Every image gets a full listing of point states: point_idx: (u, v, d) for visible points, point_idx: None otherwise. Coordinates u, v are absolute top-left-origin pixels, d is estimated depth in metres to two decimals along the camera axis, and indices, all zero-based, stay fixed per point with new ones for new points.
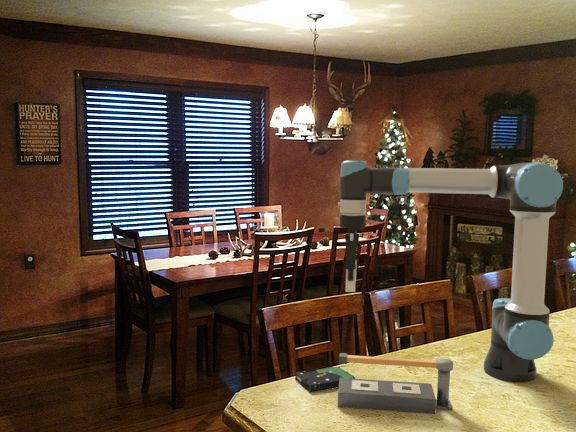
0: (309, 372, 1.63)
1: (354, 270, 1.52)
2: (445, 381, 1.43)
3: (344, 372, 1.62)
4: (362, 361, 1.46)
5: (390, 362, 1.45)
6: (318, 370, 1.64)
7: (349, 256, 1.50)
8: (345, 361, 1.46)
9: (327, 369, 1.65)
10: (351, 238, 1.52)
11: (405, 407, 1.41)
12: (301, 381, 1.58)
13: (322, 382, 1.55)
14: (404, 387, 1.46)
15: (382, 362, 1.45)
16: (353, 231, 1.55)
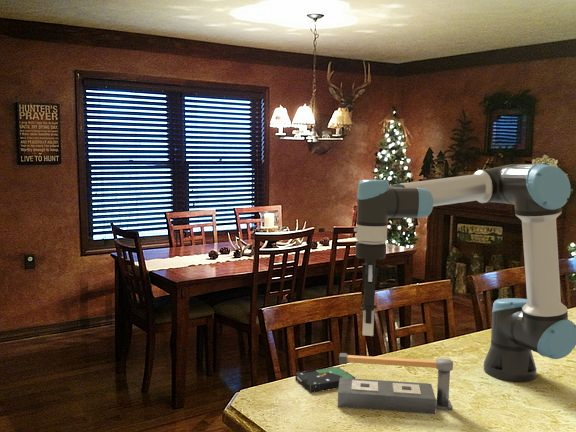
0: (309, 372, 1.62)
1: (372, 311, 1.36)
2: (445, 381, 1.43)
3: (344, 372, 1.62)
4: (362, 361, 1.46)
5: (390, 362, 1.45)
6: (318, 370, 1.64)
7: (367, 299, 1.33)
8: (345, 361, 1.46)
9: (327, 369, 1.64)
10: (369, 280, 1.31)
11: (405, 407, 1.41)
12: (301, 381, 1.57)
13: (322, 382, 1.54)
14: (404, 387, 1.46)
15: (382, 362, 1.45)
16: (372, 262, 1.32)
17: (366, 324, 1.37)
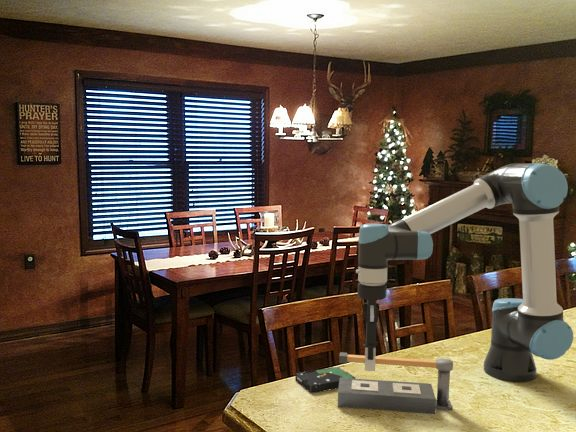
0: (309, 373, 1.62)
1: (374, 348, 1.44)
2: (445, 381, 1.43)
3: (344, 372, 1.62)
4: (362, 360, 1.46)
5: (390, 362, 1.45)
6: (318, 370, 1.63)
7: (369, 337, 1.40)
8: (345, 360, 1.47)
9: (327, 369, 1.64)
10: (371, 320, 1.38)
11: (405, 407, 1.41)
12: (302, 382, 1.57)
13: (323, 383, 1.54)
14: (404, 387, 1.46)
15: (382, 362, 1.46)
16: (373, 303, 1.40)
17: (368, 360, 1.45)
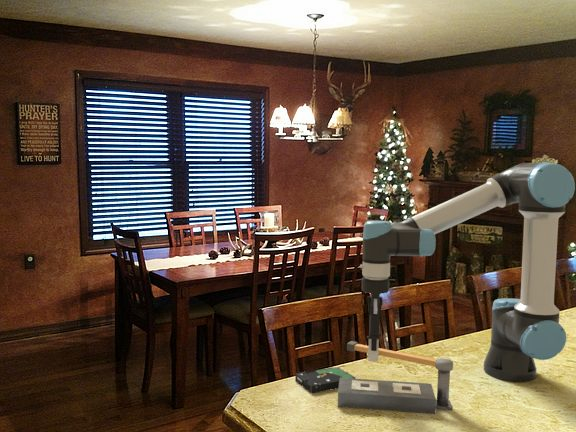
0: (309, 373, 1.62)
1: (377, 340, 1.51)
2: (445, 381, 1.43)
3: (344, 372, 1.62)
4: (367, 351, 1.54)
5: (392, 355, 1.50)
6: (318, 371, 1.63)
7: (373, 329, 1.47)
8: (352, 348, 1.56)
9: (327, 370, 1.64)
10: (375, 313, 1.45)
11: (405, 407, 1.41)
12: (302, 382, 1.57)
13: (323, 383, 1.54)
14: (404, 387, 1.46)
15: (385, 354, 1.51)
16: (377, 296, 1.47)
17: (372, 351, 1.51)
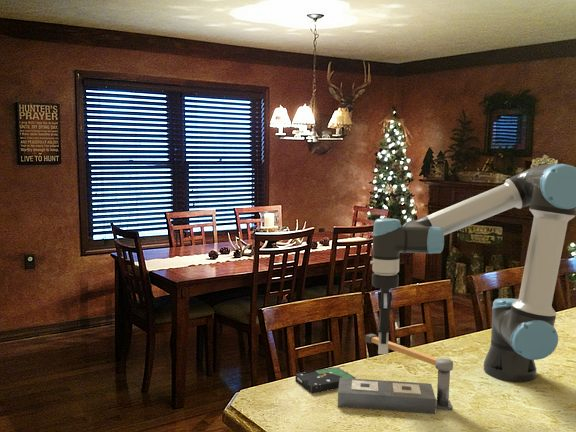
0: (309, 373, 1.62)
1: (387, 333, 1.56)
2: (445, 381, 1.43)
3: (344, 373, 1.62)
4: None
5: (400, 350, 1.54)
6: (318, 371, 1.63)
7: (383, 323, 1.53)
8: (369, 340, 1.63)
9: (327, 370, 1.64)
10: (385, 307, 1.51)
11: (405, 407, 1.41)
12: (302, 382, 1.57)
13: (323, 383, 1.54)
14: (404, 387, 1.46)
15: (395, 348, 1.56)
16: (386, 291, 1.52)
17: (381, 344, 1.57)
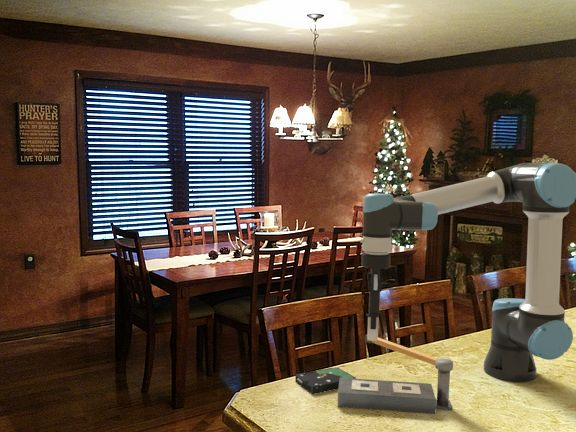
0: (309, 373, 1.62)
1: (377, 318, 1.44)
2: (445, 381, 1.43)
3: (344, 373, 1.62)
4: (381, 344, 1.60)
5: (400, 350, 1.54)
6: (318, 371, 1.63)
7: (372, 306, 1.41)
8: (369, 340, 1.63)
9: (327, 370, 1.64)
10: (375, 289, 1.39)
11: (405, 407, 1.41)
12: (302, 383, 1.56)
13: (324, 383, 1.54)
14: (404, 387, 1.46)
15: (395, 348, 1.56)
16: (377, 272, 1.40)
17: (371, 330, 1.45)
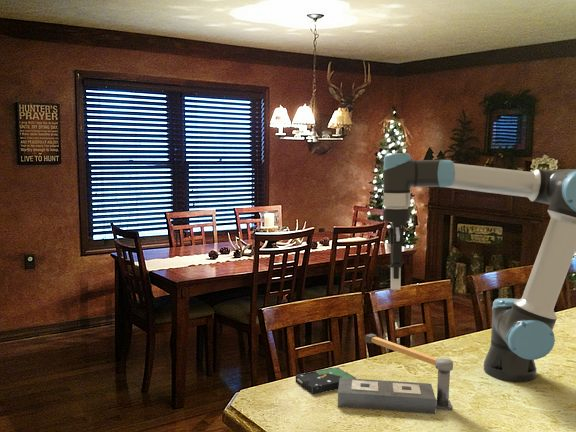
0: (309, 374, 1.61)
1: (399, 268, 1.57)
2: (445, 381, 1.43)
3: (344, 373, 1.62)
4: (381, 344, 1.60)
5: (400, 350, 1.54)
6: (318, 371, 1.63)
7: (395, 256, 1.53)
8: (369, 340, 1.63)
9: (327, 370, 1.64)
10: (397, 240, 1.51)
11: (405, 407, 1.41)
12: (302, 383, 1.56)
13: (324, 384, 1.54)
14: (404, 387, 1.46)
15: (395, 348, 1.56)
16: (398, 225, 1.52)
17: (394, 279, 1.57)
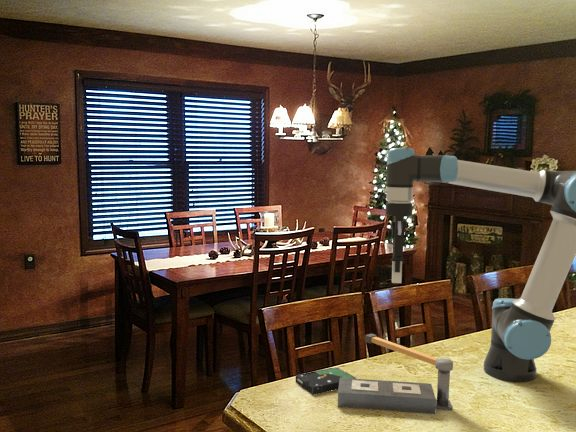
0: (309, 374, 1.61)
1: (400, 262, 1.58)
2: (445, 381, 1.43)
3: (344, 373, 1.62)
4: (381, 344, 1.60)
5: (400, 350, 1.54)
6: (318, 372, 1.62)
7: (397, 250, 1.54)
8: (369, 340, 1.63)
9: (327, 370, 1.64)
10: (399, 233, 1.52)
11: (405, 407, 1.41)
12: (303, 383, 1.56)
13: (324, 384, 1.53)
14: (404, 387, 1.46)
15: (395, 348, 1.56)
16: (400, 219, 1.54)
17: (395, 273, 1.59)
